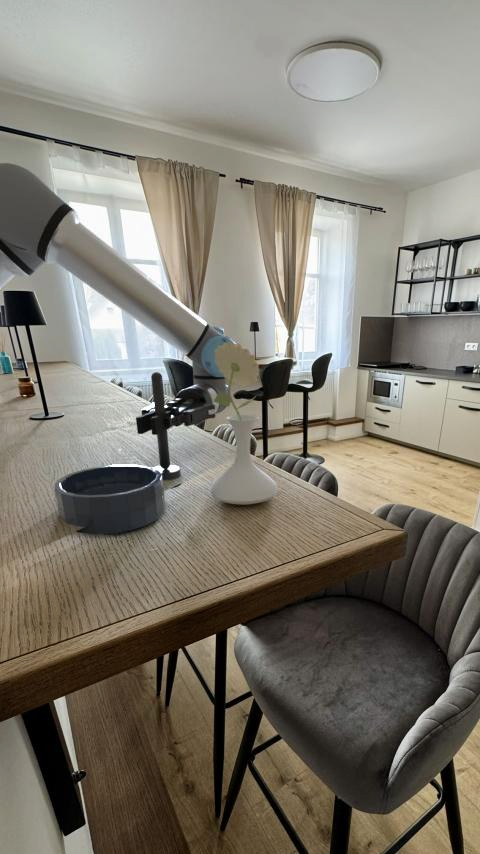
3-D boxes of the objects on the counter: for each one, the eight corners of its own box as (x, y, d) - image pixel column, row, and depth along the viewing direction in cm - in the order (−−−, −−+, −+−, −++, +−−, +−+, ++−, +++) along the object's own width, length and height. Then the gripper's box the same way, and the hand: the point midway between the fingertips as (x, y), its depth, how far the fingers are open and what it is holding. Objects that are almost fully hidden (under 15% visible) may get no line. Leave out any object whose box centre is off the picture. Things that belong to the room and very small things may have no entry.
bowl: (39, 524, 59) (30, 485, 57) (117, 493, 72) (112, 460, 69) (113, 547, 54) (106, 504, 51) (184, 508, 66) (181, 472, 63)
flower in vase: (291, 500, 70) (294, 342, 60) (234, 517, 63) (229, 342, 54) (246, 480, 79) (244, 341, 70) (193, 493, 72) (182, 340, 63)
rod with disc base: (146, 486, 75) (133, 372, 68) (165, 478, 80) (155, 370, 72) (168, 490, 73) (157, 373, 66) (187, 482, 77) (178, 371, 70)
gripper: (230, 423, 89) (191, 451, 67) (165, 420, 91) (107, 446, 69) (229, 387, 86) (188, 404, 64) (162, 385, 88) (100, 400, 66)
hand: (146, 426), depth 67 cm, fingers closed on rod with disc base, 2 cm apart
